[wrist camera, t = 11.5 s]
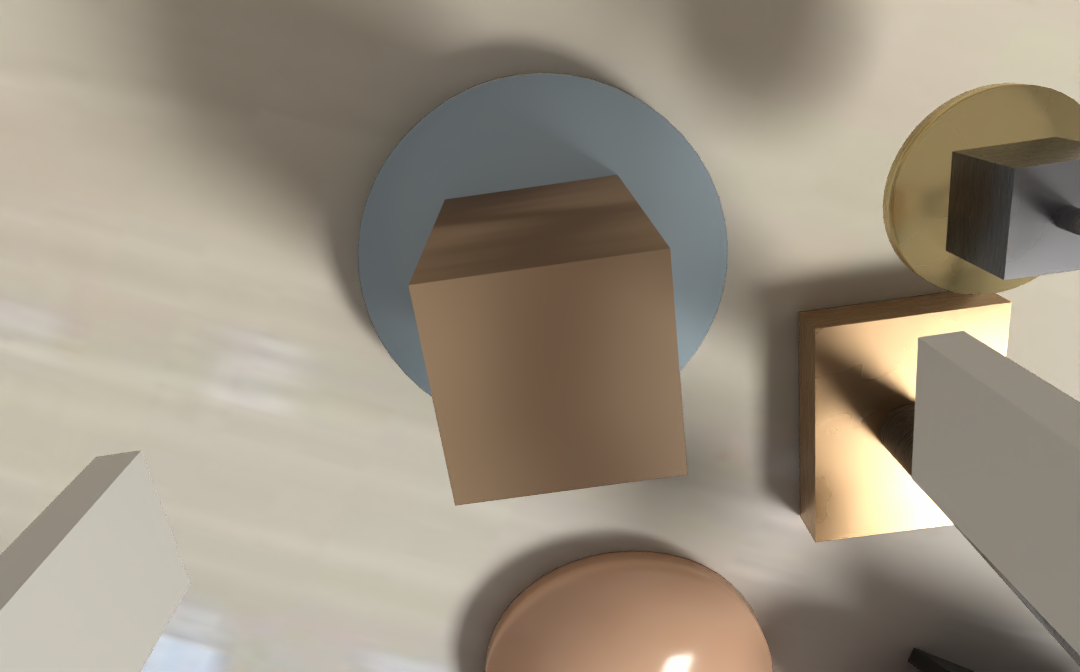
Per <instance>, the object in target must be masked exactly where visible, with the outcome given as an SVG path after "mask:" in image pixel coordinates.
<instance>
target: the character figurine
mask: <svg viewBox="0 0 1080 672" xmlns="http://www.w3.org/2000/svg"><path fill="white" fill-rule="evenodd" d="M908 662H910V663H911V664H912V665H914V666H915V667H917V668H918V669H919V670H921V671H922V672H973V671H971V670H968V669H966V668H963V667H961V666H959V665H956V664H954V663H951V662H949V661H946V660H944V659H941V658H939V657H936V656H934V655H931V654H929V653H926V652H924V651H921V650H919V649H916V648H914V649H913V651H912V653H911V656H910V658H909V660H908Z"/></svg>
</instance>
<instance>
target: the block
mask: <svg viewBox="0 0 1080 672" xmlns="http://www.w3.org/2000/svg"><path fill="white" fill-rule="evenodd" d="M409 290H410V295H411V300H412V304H413V309H414V314H415V319H416V323H417V328H418V333H419V337H420V342H421V347H422V352H423V356H424V361H425V366H426V370H427V375H428V380H429V385H430V389H431V394H432V399H433V403H434V408H435V413H436V418H437V422H438V427H439V432H440V437H441V441H442V446H443V451H444V455H445V460H446V465H447V470H448V474H449V479H450V484H451V488H452V493H453V498H454V503H455V505H463V504H470V503H478V502H485V501H493V500H500V499H508V498H515V497H523V496H530V495H538V494H545V493H553V492H560V491H568V490H575V489H583V488H590V487H598V486H605V485H613V484H620V483H628V482H635V481H643V480H650V479H658V478H665V477H672V476H680V475H687V463H686V450H685V436H684V423H683V410H682V397H681V383H680V370H679V357H678V344H677V330H676V317H675V304H674V291H673V277H672V264H671V251H670V247H669V246H668V244H667V243H666V242H665V240H664V239H663V237H662V236H661V235H660V233H659V232H658V230H657V229H656V228H655V226H654V225H653V224H652V222H651V221H650V219H649V218H648V217H647V215H646V214H645V212H644V211H643V210H642V208H641V207H640V205H639V204H638V203H637V201H636V200H635V198H634V197H633V196H632V194H631V193H630V191H629V190H628V189H627V187H626V186H625V184H624V183H623V182H622V180H621V179H620V177H619V176H618V175H613V176H606V177H599V178H592V179H585V180H578V181H571V182H564V183H557V184H550V185H543V186H536V187H529V188H522V189H515V190H508V191H501V192H494V193H487V194H480V195H473V196H466V197H459V198H452V199H445V200H444V203H443V205H442V207H441V210H440V212H439V215H438V217H437V219H436V222H435V224H434V226H433V229H432V231H431V233H430V236H429V238H428V240H427V243H426V245H425V247H424V250H423V252H422V255H421V257H420V259H419V262H418V264H417V266H416V269H415V271H414V273H413V276H412V278H411V280H410V283H409Z"/></svg>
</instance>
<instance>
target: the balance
mask: <svg viewBox="0 0 1080 672" xmlns="http://www.w3.org/2000/svg"><path fill="white" fill-rule="evenodd" d="M883 218H884V223H885V229H886V232H887V235H888V238H889V241H890V243H891V245H892V247H893V249H894V251H895V253H896V254H897V255H898V257H899V258H900V259H901V261H902V262H903V263H904V264H905V265H906V266H907V267H908V268H909V269H910V270H912V271H913V272H915V273H916V274H917V275H919V276H920V277H922V278H924V279H925V280H927V281H929V282H930V283H932V284H934V285H936V286H938V287H940V288H942V289H945V290H948V291H951V292H943V293H936V294H929V295H921V296H914V297H907V298H900V299H892V300H885V301H878V302H870V303H863V304H856V305H848V306H841V307H834V308H826V309H819V310H812V311H804V312H798V314H799V421H800V517H801V519H802V520H803V522H804V524H805V525H806V527H807V529H808V530H809V532H810V534H811V536H812V537H813V539H814V541H815V542H821V541H829V540H837V539H844V538H852V537H860V536H867V535H875V534H883V533H891V532H898V531H906V530H914V529H921V528H929V527H937V526H945V525H952V524H954V523H953V522H952V521H951V520H950V519H949V517H948V516H947V515H946V514H945V513H944V512H943V511H942V510H941V509H940V508H939V507H938V506H937V505H936V504H935V503H934V502H933V501H932V500H931V499H930V498H929V496H928V495H927V494H926V493H925V492H924V491H923V490H922V489H921V488H920V487H919V486H918V485H917V484H916V483H915V482H914V481H913V480H912V479H911V476H912V455H913V434H914V413H915V392H916V371H917V350H918V337H924V336H931V335H937V334H944V333H951V332H958V331H965V332H966V333H968V334H970V335H971V336H973V337H975V338H976V339H978V340H979V341H981V342H983V343H984V344H986V345H988V346H989V347H991V348H992V349H994V350H996V351H997V352H999V353H1001V354H1002V355H1004V356H1005V357H1006V352H1007V342H1008V332H1009V323H1010V313H1011V303H1012V302H1010V301H1008V300H1006V299H1005V298H1003V297H1001V296H999V295H997V294H995V293H997V292H1002V291H1006V290H1009V289H1012V288H1015V287H1018V286H1020V285H1023V284H1025V283H1027V282H1029V281H1031V280H1033V279H1035V278H1037V277H1038V276H1040V275H1046V274H1054V273H1061V272H1068V271H1075V270H1080V104H1078V103H1077V102H1076V101H1075V100H1074V99H1072V98H1070V97H1068V96H1067V95H1065V94H1063V93H1061V92H1058V91H1056V90H1053V89H1051V88H1046V87H1041V86H1036V85H1026V84H1014V83H1003V84H992V85H987V86H983V87H979V88H976V89H973V90H970V91H967V92H964V93H962V94H960V95H958V96H956V97H954V98H952V99H950V100H949V101H947V102H946V103H944V104H943V105H941V106H939V107H938V108H937V109H936V110H934V111H933V112H932V113H931V114H929V115H928V116H927V117H926V118H925V119H924V120H923V121H922V122H921V123H920V124H919V125H918V126H917V127H916V128H915V129H914V130H913V132H912V133H911V134H910V135H909V137H908V138H907V139H906V141H905V142H904V144H903V145H902V147H901V148H900V150H899V152H898V154H897V156H896V158H895V160H894V162H893V164H892V166H891V169H890V172H889V175H888V177H887V182H886V186H885V190H884V199H883ZM954 525H955V524H954ZM955 527H956V528H957V529H958V530H959V531H960V532H961V533H962V534H963V536H964V537H965V538H966V539H967V540H968V541H969V542H970V543H971V545H972V546H973V547H974V548H975V549H976V550H977V551H978V552H979V554H980V555H981V556H982V557H983V558H984V559H985V560H986V561H987V563H988V564H989V565H990V566H991V567H992V568H993V569H994V570H995V572H996V573H997V574H998V575H999V576H1000V577H1001V578H1002V579H1003V581H1004V582H1005V583H1006V584H1007V585H1008V586H1009V587H1010V588H1011V590H1012V591H1013V592H1014V593H1015V594H1016V595H1017V596H1018V597H1019V599H1020V600H1021V601H1022V602H1023V603H1024V604H1025V605H1026V606H1027V608H1028V609H1029V610H1030V611H1031V612H1032V613H1033V614H1034V615H1035V617H1036V618H1037V619H1038V620H1039V621H1040V622H1041V623H1042V624H1043V626H1044V627H1045V628H1046V629H1047V630H1048V631H1049V632H1050V633H1051V635H1052V636H1053V637H1054V638H1055V639H1056V640H1057V641H1058V642H1059V643H1060V645H1061V646H1062V647H1063V648H1064V649H1065V650H1066V651H1067V652H1068V654H1069V655H1070V656H1071V657H1072V658H1073V659H1074V660H1075V661H1076V663H1077V664H1078V665H1079V666H1080V655H1079V654H1078V653H1077V652H1076V651H1075V650H1074V649H1073V648H1072V647H1071V646H1070V645H1069V644H1068V643H1067V642H1066V640H1065V639H1064V638H1063V637H1062V636H1061V635H1060V634H1059V633H1058V632H1057V631H1056V630H1055V629H1054V628H1053V627H1052V626H1051V625H1050V624H1049V623H1048V622H1047V620H1046V619H1045V618H1044V617H1043V616H1042V615H1041V614H1040V613H1039V612H1038V611H1037V610H1036V609H1035V608H1034V607H1033V606H1032V605H1031V604H1030V603H1029V602H1028V601H1027V599H1026V598H1025V597H1024V596H1023V595H1022V594H1021V593H1020V592H1019V591H1018V590H1017V589H1016V588H1015V587H1014V586H1013V585H1012V584H1011V583H1010V582H1009V581H1008V579H1007V578H1006V577H1005V576H1004V575H1003V574H1002V573H1001V572H1000V571H999V570H998V569H997V568H996V567H995V566H994V565H993V564H992V563H991V562H990V561H989V560H988V558H987V557H986V556H985V555H984V554H983V553H982V552H981V551H980V550H979V549H978V548H977V547H976V546H975V545H974V544H973V543H972V542H971V541H970V540H969V539H968V537H967V536H966V535H965V534H964V533H963V532H962V531H961V530H960V529H959V528H958V527H957V526H956V525H955Z"/></svg>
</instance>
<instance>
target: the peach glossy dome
mask: <svg viewBox="0 0 1080 672" xmlns="http://www.w3.org/2000/svg"><path fill="white" fill-rule="evenodd" d="M486 672H773V667H772V658H771V654H770V651H769V648H768V644H767V642H766V639H765V637H764V635H763V632H762V630H761V627H760V625H759V622H758V620H757V618H756V616H755V614H754V612H753V610H752V608H751V606H750V605H749V604H748V602H747V601H746V600H745V598H744V597H743V595H742V594H741V593H740V592H739V591H738V590H737V589H736V588H735V587H734V586H733V585H732V584H731V583H729V582H728V581H727V580H725V579H724V578H723V577H721V576H720V575H719V574H717V573H715V572H713V571H711V570H710V569H708V568H706V567H704V566H702V565H700V564H697V563H695V562H692V561H690V560H687V559H684V558H680V557H676V556H672V555H668V554H661V553H654V552H640V551H627V552H613V553H607V554H601V555H596V556H591V557H588V558H584V559H581V560H578V561H574V562H572V563H569V564H567V565H565V566H562V567H560V568H558V569H555V570H554V571H552V572H550V573H548V574H547V575H545V576H543V577H541V578H540V579H538V580H537V581H535V582H534V583H533V584H531V585H530V586H529V587H527V588H526V589H525V590H524V591H523V592H522V593H521V594H520V595H519V596H517V597H516V598H515V599H514V600H513V601H512V603H511V604H510V605H509V606H508V608H507V609H506V610H505V611H504V613H503V614H502V616H501V618H500V619H499V621H498V623H497V624H496V626H495V628H494V631H493V633H492V636H491V638H490V641H489V645H488V650H487V654H486Z"/></svg>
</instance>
